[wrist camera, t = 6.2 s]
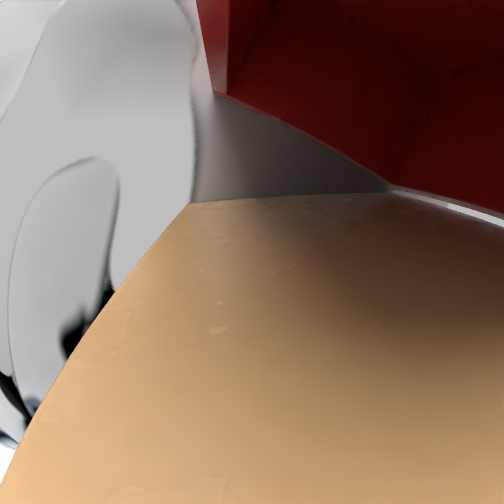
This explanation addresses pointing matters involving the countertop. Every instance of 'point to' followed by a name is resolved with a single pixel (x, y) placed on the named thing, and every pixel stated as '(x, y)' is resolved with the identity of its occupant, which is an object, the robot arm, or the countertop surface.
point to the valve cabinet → (375, 84)
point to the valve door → (286, 364)
